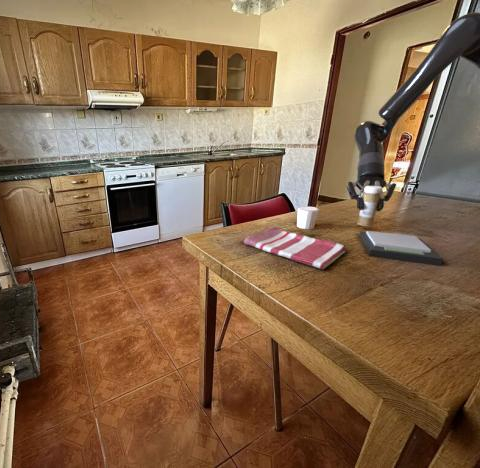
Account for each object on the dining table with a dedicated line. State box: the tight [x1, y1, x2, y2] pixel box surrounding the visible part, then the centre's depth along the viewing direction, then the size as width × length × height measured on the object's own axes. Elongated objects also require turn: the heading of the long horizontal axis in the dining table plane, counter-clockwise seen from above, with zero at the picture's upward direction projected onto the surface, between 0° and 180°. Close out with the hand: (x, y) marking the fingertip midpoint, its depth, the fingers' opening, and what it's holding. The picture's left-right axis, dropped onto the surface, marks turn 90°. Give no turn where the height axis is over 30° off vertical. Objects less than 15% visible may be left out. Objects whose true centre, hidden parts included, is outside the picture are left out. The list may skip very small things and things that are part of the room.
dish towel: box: [243, 225, 346, 270], centre depth 77 cm, size 17×23×3 cm
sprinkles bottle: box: [356, 186, 383, 228], centre depth 87 cm, size 5×5×13 cm
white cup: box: [296, 205, 320, 230], centre depth 94 cm, size 7×7×7 cm
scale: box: [358, 230, 444, 267], centre depth 74 cm, size 15×15×3 cm
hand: (370, 209), depth 86 cm, fingers closed on sprinkles bottle, 4 cm apart
